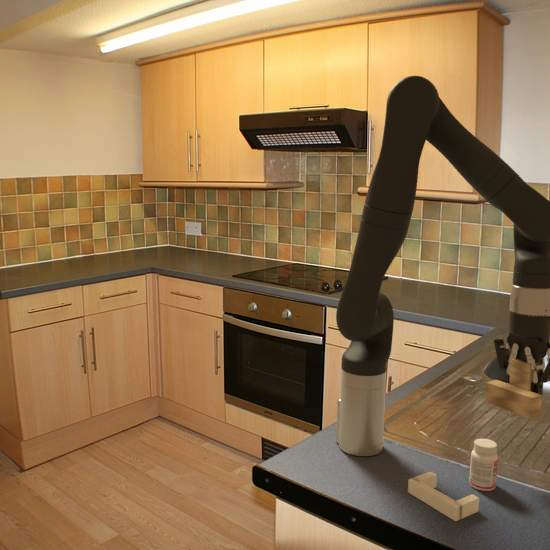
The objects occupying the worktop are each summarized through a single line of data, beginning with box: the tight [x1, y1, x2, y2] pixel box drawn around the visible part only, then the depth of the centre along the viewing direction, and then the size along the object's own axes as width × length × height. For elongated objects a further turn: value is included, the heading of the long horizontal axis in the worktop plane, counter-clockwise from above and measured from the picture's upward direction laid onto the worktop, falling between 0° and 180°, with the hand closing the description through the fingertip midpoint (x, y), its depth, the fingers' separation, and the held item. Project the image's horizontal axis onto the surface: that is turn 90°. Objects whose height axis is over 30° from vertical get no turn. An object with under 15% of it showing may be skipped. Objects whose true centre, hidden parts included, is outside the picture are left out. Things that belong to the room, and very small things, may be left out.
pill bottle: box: [468, 438, 499, 492], centre depth 112 cm, size 5×5×8 cm
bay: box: [407, 471, 480, 522], centre depth 107 cm, size 11×6×2 cm, turn 33°
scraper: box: [484, 359, 543, 420], centre depth 115 cm, size 10×7×9 cm
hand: (524, 396), depth 116 cm, fingers closed on scraper, 4 cm apart
